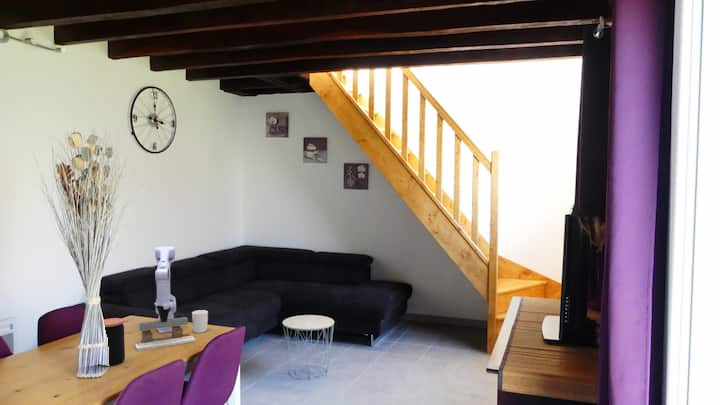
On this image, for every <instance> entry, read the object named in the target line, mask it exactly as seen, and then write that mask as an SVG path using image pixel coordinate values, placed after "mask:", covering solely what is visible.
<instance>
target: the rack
mask: <svg viewBox="0 0 720 405" xmlns="http://www.w3.org/2000/svg"><path fill="white" fill-rule="evenodd" d="M183 332H184V331H183V327H181V325H180V326H172V331H171V335H167V336H159V337H154V336H153V335H154V334H153V333H154V332H153V331H152V329H150V330H142V331H141V339H140V344H141V343H147V342H154V341H161V340H167V339H174V338H180V337H184V336H183Z"/></svg>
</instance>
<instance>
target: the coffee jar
mask: <svg viewBox="0 0 720 405" xmlns="http://www.w3.org/2000/svg"><path fill="white" fill-rule="evenodd" d="M103 320H104V323H105V324H104V325H105V330H106V334H107V337H108V347H109V365H110V366H109V367H114V366H117V365H120V364H123V362H124V361H125V358H126V357H125V356H126V353H125V352H126V350H125V344H126V343H125V325H124V322H125V320H124V319H123V318H119V317H114V318H113V317H111V318H105V319H103Z"/></svg>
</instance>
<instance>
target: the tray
mask: <svg viewBox="0 0 720 405" xmlns="http://www.w3.org/2000/svg"><path fill="white" fill-rule="evenodd" d="M191 343H196V338H195V337H194V336H193V335H187V336H183V337H180V338H174V339H167V340H161V341H154V342H147V343H141V342H140V343H135V345H134V347H135V350H136V351H137V352H142V351H147V350H154V349H160V348H166V347H173V346H179V345H184V344H191Z"/></svg>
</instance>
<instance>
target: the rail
mask: <svg viewBox="0 0 720 405" xmlns="http://www.w3.org/2000/svg"><path fill="white" fill-rule="evenodd" d="M188 322H189V319H188V317H187V316H183V317H177V318H176V317H174V319H167V322H162V320H152V321H144V322H138V330H139V332H142V331H144V330H157V328H165V327H172V326H180V327H181V326H186V325H189V323H188Z"/></svg>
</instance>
